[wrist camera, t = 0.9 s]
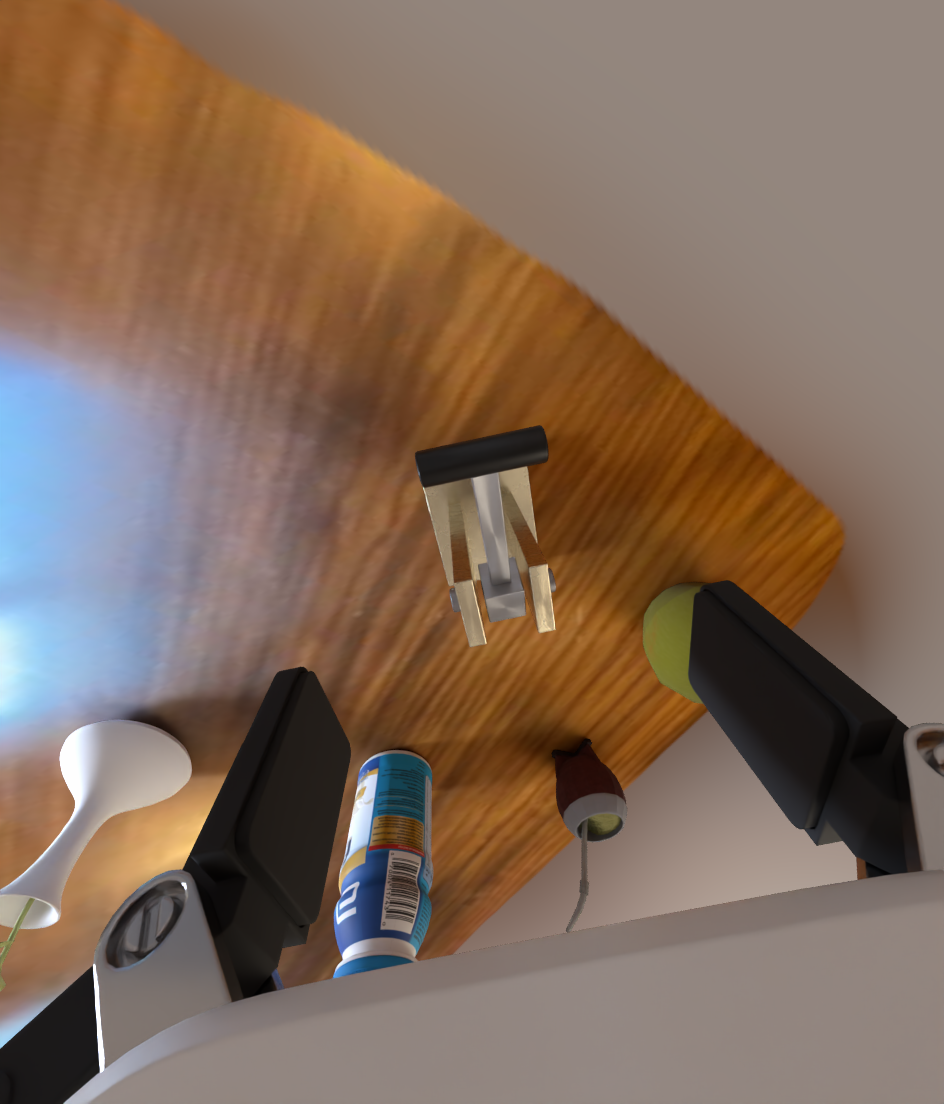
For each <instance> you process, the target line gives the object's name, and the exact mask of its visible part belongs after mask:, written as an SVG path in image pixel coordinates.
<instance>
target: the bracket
mask: <svg viewBox="0 0 944 1104" xmlns="http://www.w3.org/2000/svg"><path fill="white" fill-rule="evenodd" d="M499 480H500V488H501V497H502V505H503V514H504V522H505V531H506V539H507V547H508V556H509V558H511V557H515V559H516V562H517V566H518V570H519V573H520V577H521V581H522V584H523V588H524V593H525V596H526V599H527V602H528V605H529V607H530V610H531V613H532V616H533V619H534V621H535V624H536V627H537V630H538V633H542V632H547V631H552V630H555V629H556V628H555V620H554V612H553V604H552V596H551V592H555V590H556V585H555V580H554V576H553V573H552V570H551V569H550V568H548V564H547V562H546V560H545V558H544V556H543V554H542V552H541V550H540V548H539V546H538V542H537V534H536V527H535V519H534V512H533V504H532V497H531V489H530V482H529V474H528V467H522V468H517V469H512V470H508V471H503V472H499ZM423 489H424V492H425V496H426V500H427V504H428V508H429V512H430V516H431V519H432V523H433V527H434V531H435V535H436V539H437V542H438V546H439V550H440V554H441V558H442V562H443V566H444V569H445V573H446V577H447V581H448V585H449V586H453V585H454V587H455V588H451V589H450V598H451V603H452V607H453V610H454V612H459V611H461V614H462V618H463V622H464V626H465V630H466V634H467V638H468V642H469V646H470V647H474V646H479V645H483V644H486V643H487V641H486V636H485V630H484V624H483V618H482V612H481V606H480V600H479V594H478V589H477V583H476V581H477V580H481V579H480V574H479V569H478V564H482V563H487V559H486V554H485V549H484V543H483V538H482V533H481V528H480V522H479V517H478V512H477V507H476V502H475V496H474V491H473V486H472V481H471V478H470V479H465V480H461V481H456V482H451V483H447V484H442V485H437V486H433V487H428V488H423Z"/></svg>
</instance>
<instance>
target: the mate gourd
mask: <svg viewBox="0 0 944 1104" xmlns="http://www.w3.org/2000/svg"><path fill="white" fill-rule="evenodd" d="M591 744H592V742H591V740H590V739H585V740H584V741H583V742H582V744H581V745H580V746H579V748H578V749H577V751H576V752H575V753H568V752H563V751H558V750H554V751H553V752H552V757H553V758H555V762H556V766H555V768H556V778H557V782H556V800H557V806H558V809H559V812H560V814H561V816H562V818H563V821H564V823H565V825H566V826H567V828H568V829H569V830H570V831H571V832H572V833H573V834H574V835H575V836H576V837H577V838H579V839H581V840H582V880H580V893H581V894H580V898H579V901H578V904H577V907H576V909H575V912H574V914H573V916H572V918H571V920H570V922H569V924H568V926H567V928H566V932H567V933H568V932H571V930H572V928H573V926H574V924H575V923H576V921H577V919H578V918H579V916H580V914H581V912H582V910H583V907H584V904H585V901H586V896H587V895H588V888H589V883H588V882H587V842H600V841H604V840H607V839H610V838H612V837H614V836H615V835H617V834H618V833H619V832H620V831H621V830H622V829H623V828H624V824H625V820H626V816H627V806H626V800H625V797H624V793H623V790H622V788H621V786H620V784H619V782H618V780H617V778H616V777H615V775H614V774H613V773H612V771H611V770H610V769H609V768H608V767H607V766H606V765H604V764H603V763H602V762H601V761H600V760H599V759H598V757H597V756H596V754H595V753H594V751H593V750H592V748H591V747H590V746H591Z"/></svg>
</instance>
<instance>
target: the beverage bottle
mask: <svg viewBox="0 0 944 1104" xmlns="http://www.w3.org/2000/svg"><path fill="white" fill-rule="evenodd" d="M431 791H432V771H431V768H430V766H429V764H428V763H427V761H426V760H425V759H424V758H422V757H421V756H419V755H417V754H415V753H413V752H409V751H404V750H390V751H385V752H381V753H378V754H376V755H374V756H372V757H371V758H369V759H368V760H367V761H366V762H365V763H364V764H363V766H362V768H361V770H360V773H359V778H358V787H357V792H356V797H355V803H354V808H353V814H352V819H351V825H350V830H349V835H348V841H347V846H346V852H345V857H344V862H343V864H342V867H341V870H340V876H339V890H340V894H341V898H340V900H339V901H338V903H337V905H336V907H335V912H334V928H335V935H336V940H337V944H338V947H339V950H340V953H341V956H342V958H343V961H342V962H341V963H340V964H339V965H338V966H337V968H336V970H335V973H334V976H333V978H338V977H342V976H347V975H351V974H356V973H361V972H366V971H372V970H377V969H382V968H387V967H392V966H397V965H402V964H407V963H413V962H418V960H417V959H416V958H414V957H415V955H416V954H417V952H418V950H419V948H420V946H421V944H422V941H423V939H424V937H425V934H426V932H427V928H428V925H429V921H430V916H431V902H430V900H429V898H428V893H429V890H430V888H431V885H432V880H433V864H432V861H431Z"/></svg>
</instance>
